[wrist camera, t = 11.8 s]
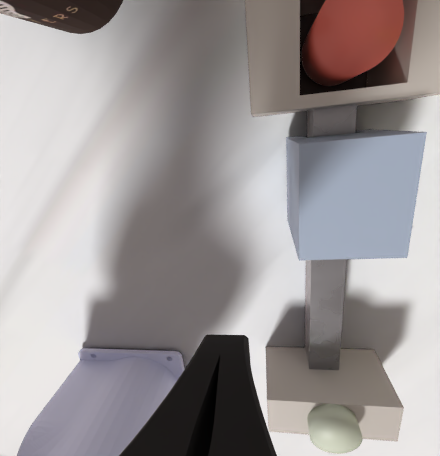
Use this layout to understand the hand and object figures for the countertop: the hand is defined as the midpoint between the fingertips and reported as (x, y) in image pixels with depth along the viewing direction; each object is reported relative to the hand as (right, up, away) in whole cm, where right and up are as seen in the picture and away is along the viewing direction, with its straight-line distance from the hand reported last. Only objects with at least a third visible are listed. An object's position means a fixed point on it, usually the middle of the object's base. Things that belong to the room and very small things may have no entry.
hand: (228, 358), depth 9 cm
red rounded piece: (+5, +13, +4) cm, 14 cm away
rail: (+6, +3, +9) cm, 12 cm away
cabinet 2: (+7, -6, +13) cm, 16 cm away
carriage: (+6, +7, +8) cm, 12 cm away
